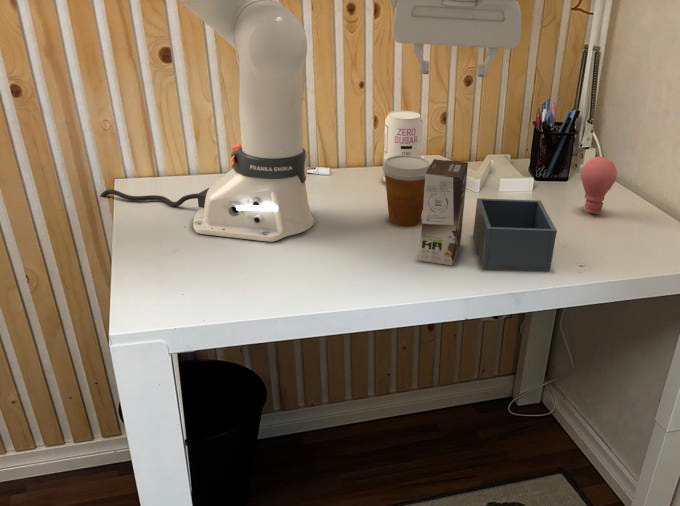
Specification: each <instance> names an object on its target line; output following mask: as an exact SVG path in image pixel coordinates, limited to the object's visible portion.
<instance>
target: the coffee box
mask: <svg viewBox="0 0 680 506" xmlns="http://www.w3.org/2000/svg"><path fill="white" fill-rule="evenodd" d="M468 165H469V162H468V161H461V160H449V159H437V158H433V160H432V162H430V167H429V168H428V170H427V171H426V173H425V186H424V200H423V211H422V216H421V229H420V230H421V231H420V233H421V234H420V244H419V245H420V246H419V257H418V258H419V259H418V260H419V261H420V262H426V263H432V264H440V265H446V266H453V265H454V263H455V261H456V258H457V255H458V253H459V250H460V247H461V244H462V243H461V242H462V234H463V233H462V232H463V220H464V209H465V200H466V199H465V197H466V190H467V179H468V178H467V177H468V169H469V167H468Z"/></svg>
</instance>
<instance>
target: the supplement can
mask: <svg viewBox="0 0 680 506" xmlns="http://www.w3.org/2000/svg"><path fill="white" fill-rule="evenodd" d="M423 126H424V122H423V120H422V118H421V113H418V112H415V111H411V110H393V111H389V112H388V113H387V115H386V118H385V120H384V139H383V140H384V141H383V143H384V144H383V147H384V148H383V165H384V164H385V161H386V159H387V158H389V157H392V156H397V155H411V156H417V157H422V146H423V145H422V144H423V143H422V142H423V128H424V127H423ZM382 179H383V181H384V182H385V183H386V180H385V173H384V171H383V173H382Z"/></svg>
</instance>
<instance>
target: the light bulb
mask: <svg viewBox="0 0 680 506" xmlns="http://www.w3.org/2000/svg"><path fill="white" fill-rule="evenodd" d="M580 175H581V176H580V179H581V184H582V186H583V189H584V193H585V194H584V199H585V204H584V205H585V207H584V211H585V212H587V213H589V214H591V215H592V214H600V213H601V212H602V209H603V206H604V200H605V196H606V195H607V193H608V192H609V191H610V190H611V188H612V187H613V186H614V184H615V182H616V180H617V175H618V172H617V167H616V165H615V163H614V162H613V161H612V160H611V159H609V158H608V157H605V156H594V157H592V158H590V159H589V160H588V161H586V163H585V164H584V165H583V167H582V170H581V173H580Z"/></svg>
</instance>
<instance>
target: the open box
mask: <svg viewBox="0 0 680 506" xmlns="http://www.w3.org/2000/svg"><path fill="white" fill-rule="evenodd" d="M475 205H476V206H475V215H474V225H473V233H472V234H473V235H472V239H473V242H474V245H475V248H476V252H477V256H478V259H479V263H480V267H481V270H482V271H507V272H508V271H509V272H511V271H512V272H539V273H540V272H546V273H550V272H551V267H552V263H553V255H554V249H555V244H556V238H557V232H558V231H557V229H556V227H555V225H554V222H553V221H552V219H551V217H550V215H549V214H548V211H547V210H546V207H545V206H544V203H543V202H542V200H537V199H535V200H533V199H511V198H510V199H509V198H508V199H507V198H505V199H504V198H482V197H481V198H480V197H479V198H478V197H477V198H476V204H475Z"/></svg>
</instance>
